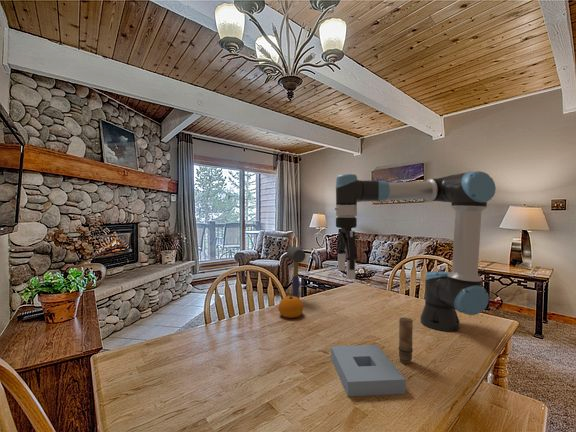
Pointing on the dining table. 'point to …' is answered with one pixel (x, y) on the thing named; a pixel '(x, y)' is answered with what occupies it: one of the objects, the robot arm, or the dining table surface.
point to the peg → (405, 340)
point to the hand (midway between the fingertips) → (345, 274)
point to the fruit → (290, 307)
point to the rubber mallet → (295, 267)
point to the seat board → (366, 371)
